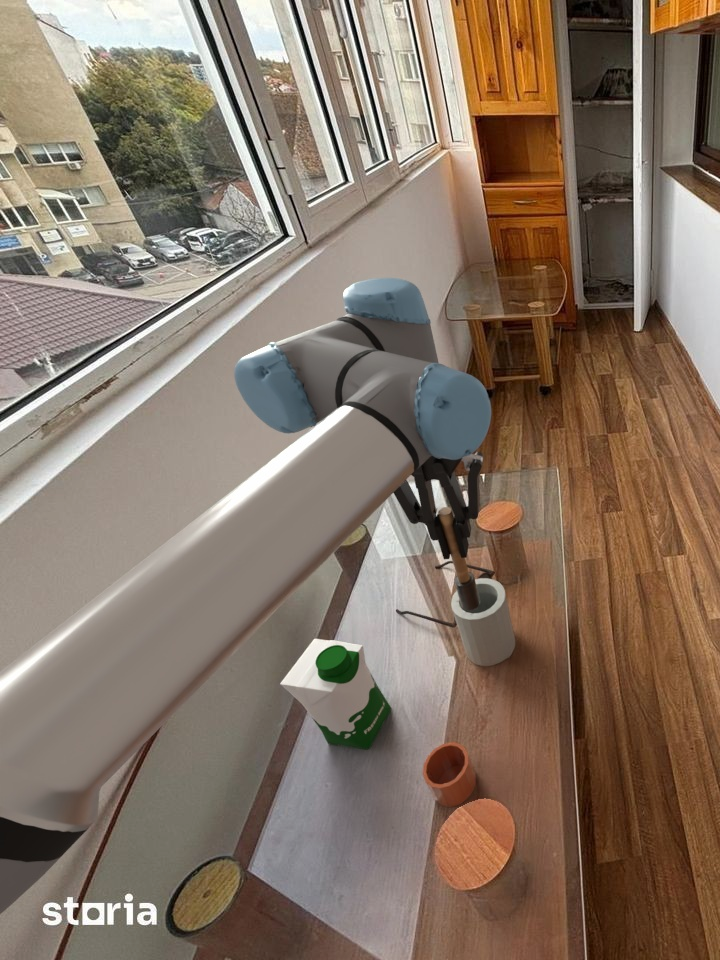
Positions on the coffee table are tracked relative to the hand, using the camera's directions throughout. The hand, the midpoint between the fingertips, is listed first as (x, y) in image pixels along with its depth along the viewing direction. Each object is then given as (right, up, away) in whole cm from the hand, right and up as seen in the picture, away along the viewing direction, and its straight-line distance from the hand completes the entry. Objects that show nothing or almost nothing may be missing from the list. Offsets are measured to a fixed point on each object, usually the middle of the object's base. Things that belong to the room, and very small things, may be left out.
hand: (456, 551), depth 76 cm
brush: (0, -9, +7) cm, 12 cm away
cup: (-1, -21, +20) cm, 29 cm away
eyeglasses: (-13, -14, +29) cm, 35 cm away
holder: (-1, -36, +1) cm, 36 cm away
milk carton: (-19, -30, +8) cm, 36 cm away
